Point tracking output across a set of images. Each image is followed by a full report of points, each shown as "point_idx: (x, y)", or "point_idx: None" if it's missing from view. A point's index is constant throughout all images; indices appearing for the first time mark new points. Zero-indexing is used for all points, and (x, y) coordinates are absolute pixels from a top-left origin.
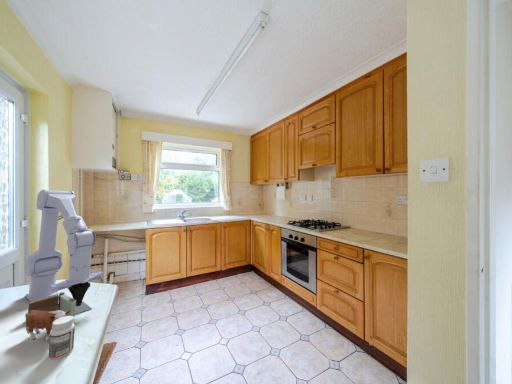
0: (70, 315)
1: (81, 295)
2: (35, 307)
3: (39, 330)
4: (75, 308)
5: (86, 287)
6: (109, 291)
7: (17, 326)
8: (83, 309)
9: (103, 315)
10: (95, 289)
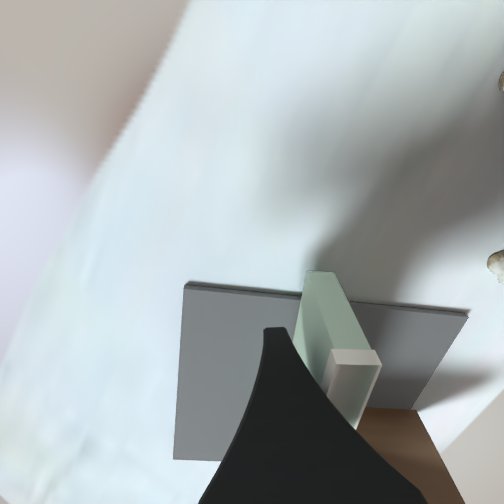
0: (336, 282)
1: (288, 401)
2: (424, 472)
3: (497, 268)
4: (320, 305)
5: (257, 497)
6: (7, 420)
7: (456, 396)
8: (224, 317)
9: (173, 87)
10: (69, 482)
